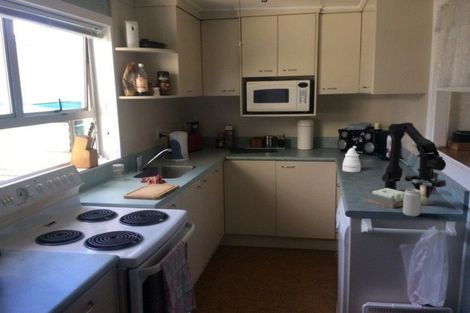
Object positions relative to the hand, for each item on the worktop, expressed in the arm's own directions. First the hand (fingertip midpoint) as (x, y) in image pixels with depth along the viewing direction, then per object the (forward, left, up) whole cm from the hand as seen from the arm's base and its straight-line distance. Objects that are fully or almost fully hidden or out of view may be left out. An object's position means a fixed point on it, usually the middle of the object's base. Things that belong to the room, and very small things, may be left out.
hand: (423, 196), depth 192 cm
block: (+10, -13, -2) cm, 17 cm away
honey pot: (-38, -81, -4) cm, 90 cm away
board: (+8, -13, -4) cm, 16 cm away
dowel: (0, 0, -4) cm, 4 cm away
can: (+19, +6, -4) cm, 20 cm away
